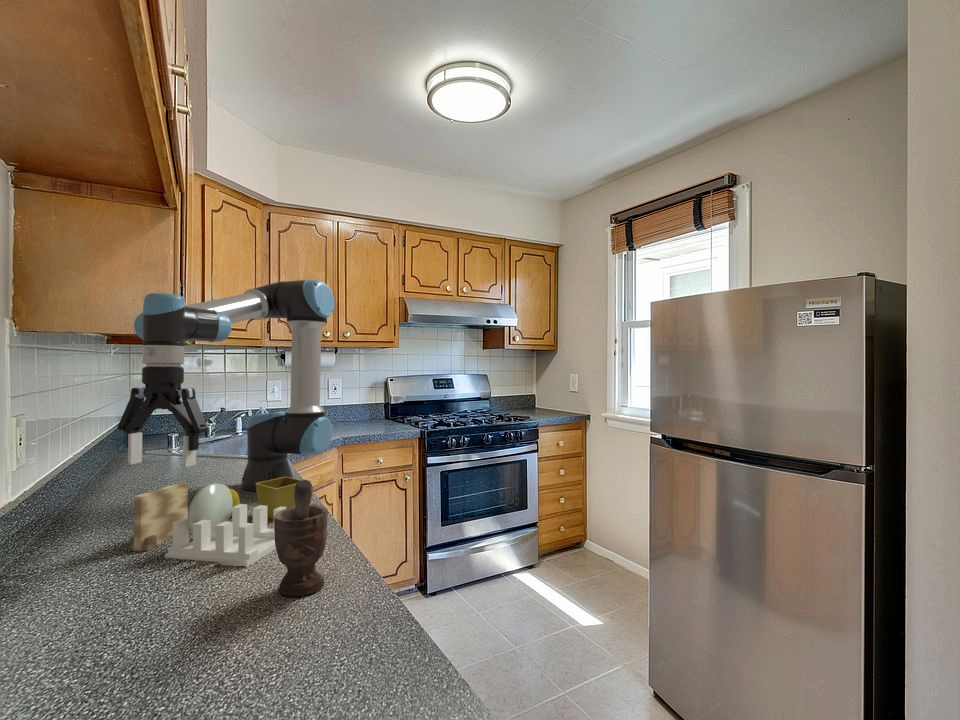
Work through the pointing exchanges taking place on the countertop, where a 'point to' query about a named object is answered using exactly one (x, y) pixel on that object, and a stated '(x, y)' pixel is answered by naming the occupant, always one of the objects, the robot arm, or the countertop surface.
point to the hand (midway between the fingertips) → (161, 464)
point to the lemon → (234, 498)
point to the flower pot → (276, 493)
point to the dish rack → (226, 538)
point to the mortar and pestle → (301, 542)
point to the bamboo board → (159, 513)
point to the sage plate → (211, 506)
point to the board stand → (148, 542)
